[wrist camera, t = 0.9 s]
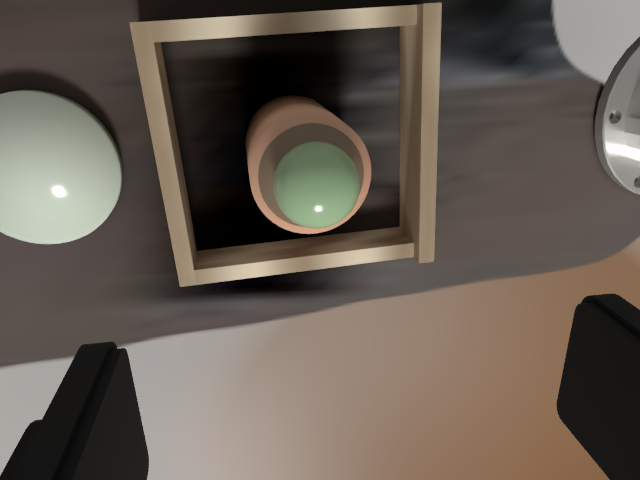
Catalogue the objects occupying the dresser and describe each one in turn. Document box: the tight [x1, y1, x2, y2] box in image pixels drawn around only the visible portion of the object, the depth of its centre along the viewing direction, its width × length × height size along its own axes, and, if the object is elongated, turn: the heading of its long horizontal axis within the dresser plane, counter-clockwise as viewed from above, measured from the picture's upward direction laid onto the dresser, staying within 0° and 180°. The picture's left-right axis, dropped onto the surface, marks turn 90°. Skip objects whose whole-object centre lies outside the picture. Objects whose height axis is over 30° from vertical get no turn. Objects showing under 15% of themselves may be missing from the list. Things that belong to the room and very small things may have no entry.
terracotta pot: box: [245, 95, 371, 234], centre depth 27 cm, size 6×6×12 cm
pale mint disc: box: [0, 90, 123, 244], centre depth 29 cm, size 9×9×1 cm
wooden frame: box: [130, 3, 442, 287], centre depth 30 cm, size 16×15×4 cm
